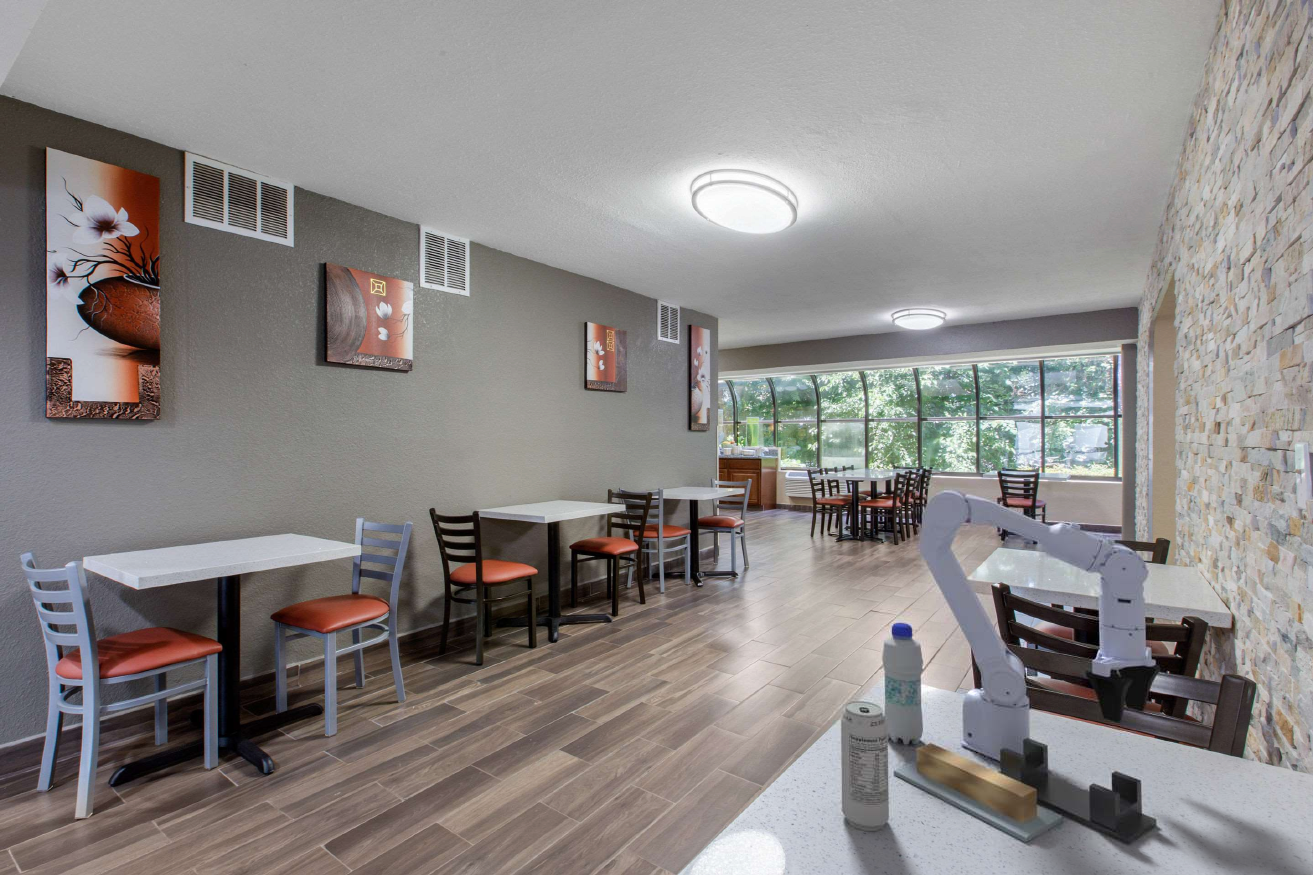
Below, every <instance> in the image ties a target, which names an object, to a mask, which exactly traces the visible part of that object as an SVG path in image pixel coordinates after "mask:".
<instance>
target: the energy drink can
mask: <svg viewBox="0 0 1313 875" xmlns="http://www.w3.org/2000/svg"><path fill="white" fill-rule="evenodd" d="M883 711H884V710H883V708H882V707H881V706H879V705H878V704H876V703H873V702H870V701H861V700H854V701H849V702H847V703H846V704H845V709H844V711H843V713H842V714H841V717H840V728H841V729H840V743H841V745H840V746H841V750H840V751H841V753H840V754H841V756H840V758H841V765H840V766H841V812H842V814H843V815H844V817H845V818H846V821H847V822H848V823H849V824H850V825H851V826H852V827H854V828H855V829H858V830H861V831H865V832H876V831H880V830H882V829H883V828H884V827H885V824H886V823H887V822H888V821H889V818H890V813H889V812H890V811H889V809H890V808H889V806H890V805H889V804H890V803H889V802H890V801H889V799H890V797H889V794H890V793H889V791H890V790H889V737H888V724H887V721H886V719H885V717H884V712H883Z"/></svg>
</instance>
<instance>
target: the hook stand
mask: <svg viewBox="0 0 1313 875" xmlns="http://www.w3.org/2000/svg"><path fill="white" fill-rule="evenodd" d="M1048 750H1049V748H1048V744H1046V743H1042V742H1040V741H1037V740H1034V739H1032V738H1030V739H1029V738H1026V739H1023V755H1022V754H1020V753H1017V752H1015V751H1012V750H1010V749H1007V748H1003V749H1000V761H999V763H1000V764H999V766H1000V771H998V773H1000V774H1003V775H1005V776H1007V777H1010V778H1012V779H1014V780H1017V781H1019V782H1021V783H1023V784H1026V785H1028V786H1030V787H1033V788H1035V789H1037V805H1039V806H1041V807H1043V808H1045V809H1048V810H1050V811H1052V812H1054V813H1056V814H1059V815H1061V816H1064V817H1066V818H1068V819H1070V820H1073V821H1075V822H1077V823H1079V824H1082V825H1084V826H1086V827H1088V828H1090V829H1093V830H1094V831H1098V832H1100V833H1102V834H1103V835H1106V836H1108V837H1111V838H1112V839H1115V840H1117V841H1119V842H1121V843H1124V844H1126V845H1130V844H1132V843H1134V842H1135V841H1136V840H1137V839H1139V838H1140V837H1142V836H1143V835H1145V834H1146V833H1148V832H1149V831H1150V830H1152V829H1153V828H1155V827H1156V826H1157V819H1156V818H1155V817H1152V816H1149V815H1148V814H1144V813H1143V806H1142V805H1143V802H1142V796H1143V794H1142V780H1141V779H1138V778H1135V777H1132V776H1130V775H1127V774H1125V773H1122V772H1119V771H1117V770H1115V771H1113V772H1112V773H1111V789H1109V788H1107V787H1104V786H1102V785H1099V784H1097V783H1092V784H1089V786H1088V787H1089V788H1088V790H1086V789H1084V788H1081V787H1079V786H1077V785H1074V784H1072V783H1070V782H1067V781H1064V780H1063V779H1060V778H1058V777H1055V776H1052V775H1050V774H1049V752H1048Z"/></svg>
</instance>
